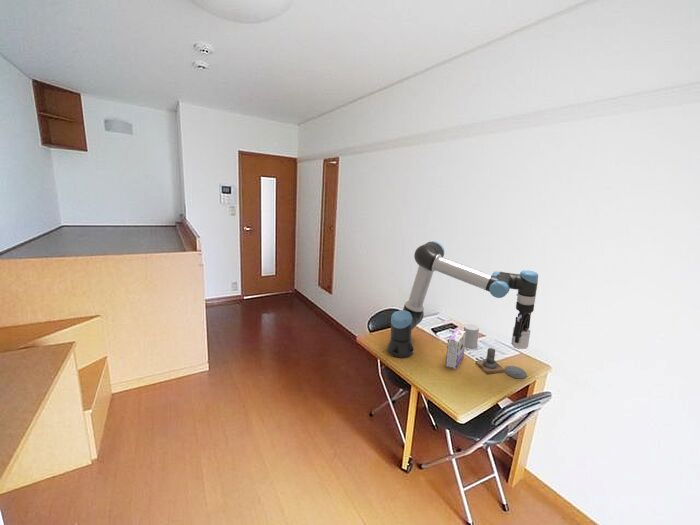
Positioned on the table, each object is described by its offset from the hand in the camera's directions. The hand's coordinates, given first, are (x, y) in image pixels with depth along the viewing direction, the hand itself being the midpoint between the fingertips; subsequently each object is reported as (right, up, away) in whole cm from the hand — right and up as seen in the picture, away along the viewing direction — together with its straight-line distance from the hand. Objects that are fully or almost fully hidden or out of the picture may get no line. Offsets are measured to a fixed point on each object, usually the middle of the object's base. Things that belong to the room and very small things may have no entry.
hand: (519, 345), depth 153 cm
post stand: (-11, -14, +9) cm, 20 cm away
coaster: (0, -15, +4) cm, 16 cm away
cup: (-13, -9, +31) cm, 35 cm away
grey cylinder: (0, 0, 0) cm, 0 cm away
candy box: (-28, -13, +14) cm, 34 cm away
